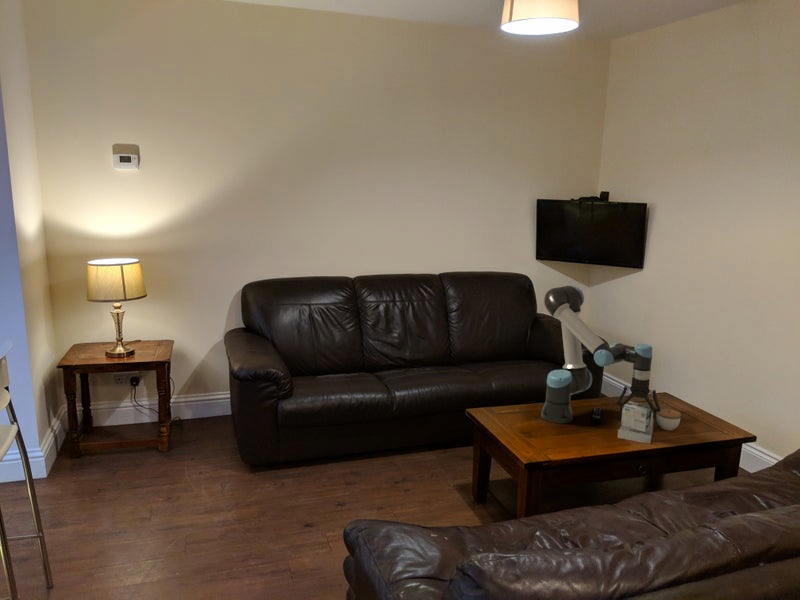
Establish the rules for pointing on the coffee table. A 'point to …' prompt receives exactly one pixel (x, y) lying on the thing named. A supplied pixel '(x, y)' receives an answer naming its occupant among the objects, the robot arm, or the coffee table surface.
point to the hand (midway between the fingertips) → (636, 422)
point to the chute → (635, 434)
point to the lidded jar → (668, 419)
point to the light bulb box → (637, 416)
